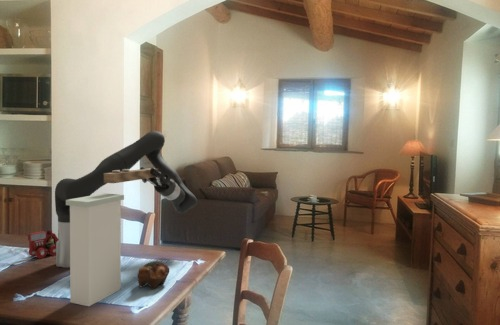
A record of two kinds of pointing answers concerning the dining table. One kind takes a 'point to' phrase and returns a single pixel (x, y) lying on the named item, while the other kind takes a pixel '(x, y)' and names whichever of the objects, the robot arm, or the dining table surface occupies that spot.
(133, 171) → the beam
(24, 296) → the dining table surface
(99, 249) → the pillar
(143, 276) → the decorative turtle
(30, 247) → the toy fire truck
